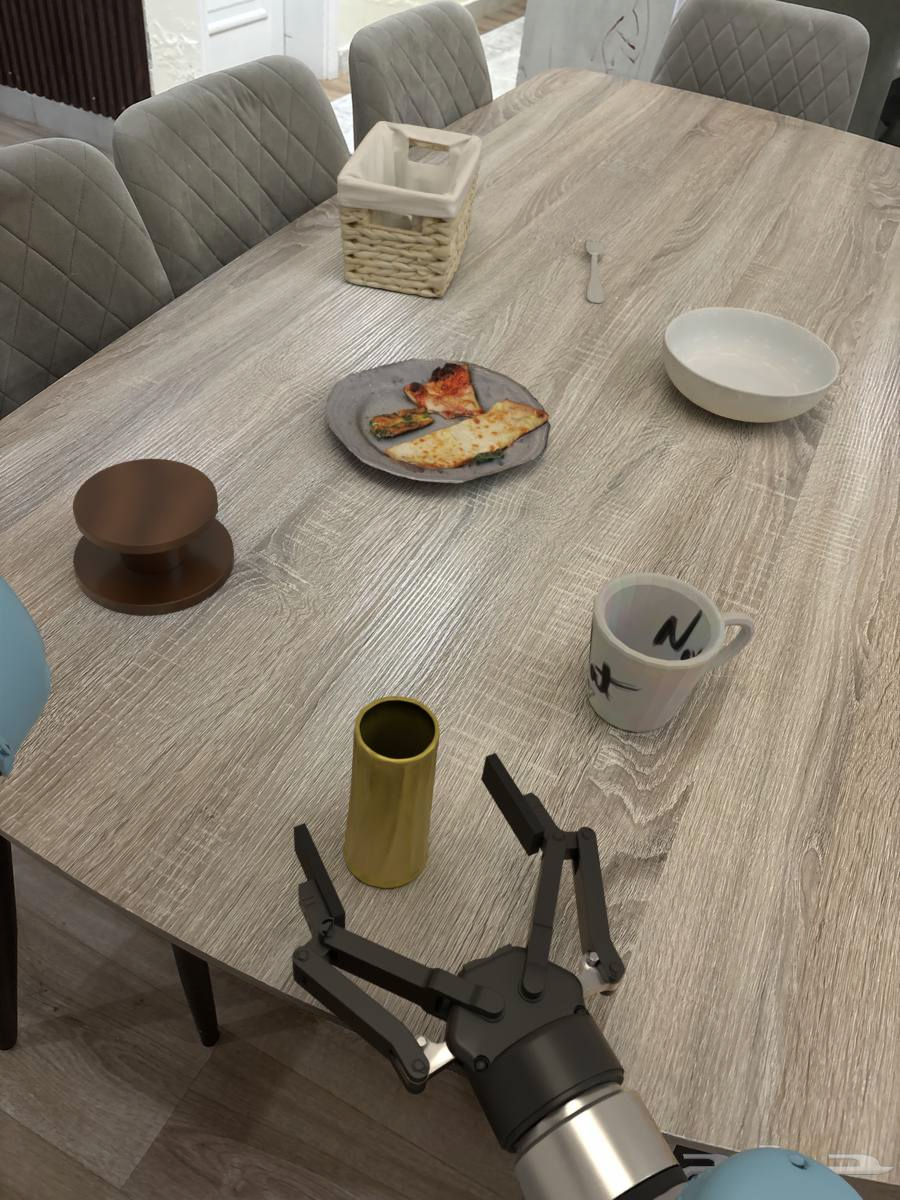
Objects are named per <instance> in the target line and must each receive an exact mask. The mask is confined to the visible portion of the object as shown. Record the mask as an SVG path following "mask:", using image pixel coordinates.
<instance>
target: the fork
mask: <svg viewBox="0 0 900 1200" xmlns="http://www.w3.org/2000/svg"><path fill="white" fill-rule="evenodd" d="M590 240H591V241H590ZM598 241H599V242H598ZM585 250H586V252H588V253H589V252H590V253H598V254H600V255H602V254H604V252H605V243H604V242H603V241H601V240H595V242H594V239H588V240H587V239H586V242H585ZM590 253H589V254H590ZM601 253H602V254H601ZM586 299H587V301H589V302H590V303H592V304H598V305H599V304H601V303H603V302H604V300H605V291H604V289H603V285H602V283H601V278H600V275H599V268H598V259H597V260H596V259H592V258H591V257H590V277H589V281H588V284H587V290H586Z"/></svg>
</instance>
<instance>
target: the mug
mask: <svg viewBox="0 0 900 1200" xmlns="http://www.w3.org/2000/svg"><path fill="white" fill-rule="evenodd" d="M732 626H739V627H740V630H739V632H738V633H737V635H736V636H735V637H734V638H733V639H732V640H731V641H730V642H729V643H728V644H727V645H725V646H724V647H723V645H724V644H725V641H726V628H727V627H732ZM590 627H591V629H590V639H589V641H590V642H589V654H588V666H587V667H588V668H587V679H586V680H587V681H586V694H587V698H588V701H589V704H590V706H592V708H593V710H594V711H595V713H596V714H597V716H599V717H600V718H601V719H603V720H604V721H605V722H607V724H610V725H611V726H614V727H616V728H618V729H620V730H623V731H628V732H633V733H645V732H646V733H647V732H652V731H654V730H657V729H661V728H662V727H663V726H665V725H666V724H667V723H668V722H670V721H671V720H672V719H673V717H674V716H675V715H676V713H677V711H679V709H680V707H681V706H682V705H683V703H684V702H685V701H686V700H687V698H688V697H689V695H690V694H691V693H692V691H693V689H694V688H695V687H696V685H697V684H698V683H699V681H700V680H701V679H702V678H703V676H704V675H705V674H708V673H710V672H711V671H714V670H715V669H717V668H720V667H721V666H722V665H725V664H726V663H727V662H729V661H731V660H732V659H733V658H735V657H736V656H737V655H739V654H740V653H741V652H742V650H743V649H745V648H746V647H747V646H748V644H749V643H750V642H751V641H752V638H753V637H754V635H755V633H756V631H755V623H754V618H753V617H751V616H750V615H748V614H747V613H745V612H743V611H726V612H720V610H719V608H718V606H717V605H715V603H714V602H713V601H712V600H711V599H710V598H709V596H707V595H706V593H704V592H703V591H701V590H699V589H698V588H697V587H695V586H693V585H692V584H691V583H688V582H687V581H684V580H682V579H679V578H676V577H674V576H671V575H668V574H662V573H657V572H653V571H642V572H641V571H637V572H635V571H633V572H628V573H625V574H621V575H618V576H615V577H613V578H612V579H610V580H609V581H607V582H606V583H604V584H602V587H601V588H600V589H599V591H598V592H597V594H596V595H595V597H594V598H593V604H592V613H591V626H590Z"/></svg>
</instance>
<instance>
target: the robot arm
mask: <svg viewBox="0 0 900 1200" xmlns="http://www.w3.org/2000/svg"><path fill="white" fill-rule="evenodd" d="M46 658H47V652H46V645H45V641H44V640H43V637H42V635H41V633H40V629H39V628H38V626H37V625H36V622H35V620H34V618H33V617H32V615H31V614H30V612H29V610H28V609H27V607H26V605H24V603H23V602H22V600H21V599H20V597H19V596H18V595H17V594H16V592H15V591H14V589H13V588H12V587H11V586H10V584H9V583H8V582H7V581H6V580H5V578H4V577H3V576H2V575H1V574H0V777H4V778H8V777H9V775H10V774H11V773H12V772H13V770H14V763H15V761H16V760H15V759H16V758H15V757H16V755H17V754H18V752H19V751H20V748H22V745H24V742H25V741H26V739H27V737H28V736H29V734H30V732H31V731H32V729H33V728H34V726H35V724H36V723H37V721H38V720H39V718H40V717H41V715H42V713H43V711H44V710H45V707H46V705H47V703H48V700H49V696H50V691H51V687H52V686H51V684H52V679H51V668H50V665H49V663H48V662H47V660H46ZM480 780H481V782H482V783H483V785H484V787H485V789H486V790H487V792H488V793H489V795H490V797H491V798H492V800H493V802H494V803H495V805H496V806H497V808H498V809H499V811H500V813H501V815H502V816H503V817H504V819H505V821H506V823H507V824H508V825H509V828H510V829H511V830H512V832H513V834H514V835H515V837H516V839H517V840H518V842H519V843H520V845H521V847H522V849H523V850H524V852H525V853H526V855H527V857H531V856H533V855H535V854H538V853H539V852H540V851H541V853H542V854H541V857H540V863H539V864H540V865H539V869H538V875H537V881H536V886H535V891H534V896H533V897H534V898H533V902H532V908H531V914H530V918H529V923H528V929H527V936H526V941H525V945H524V947H523V946H517V945H512V944H511V943H510V942H509V943H507V944H505V945H503V946H501V947H498V949H496V950H495V951H494V952H493V953H492V954H491V955H489V956H487V957H481V958H475V959H473V960H470V961H469V962H466V963H464V964H462V968H461V969H460V970H459V972H458V973H457V974H454V973H451V972H450V971H447V970H446V969H443V968H441V967H433V968H432V967H430V966H427V965H425V964H423V963H420V962H418V961H416V960H414V959H412V958H410V957H407V956H405V955H403V954H401V953H398V952H396V951H394V950H392V949H390V948H388V947H385V946H383V945H381V944H378V943H376V942H375V941H372V940H369V939H367V938H366V937H363V936H361V935H359V934H357V933H355V932H352V931H350V930H348V929H346V915H347V914H346V910H345V908H344V906H343V904H342V901H341V899H340V897H339V895H338V893H337V889H336V888H335V886H334V884H333V881H332V880H331V877H330V875H329V873H328V870H327V868H326V866H325V863H324V862H323V859H322V857H321V855H320V853H319V850H318V848H317V845H316V844H315V841H314V839H313V837H312V834H311V833H310V831H309V829H308V826H307V824H306V823H305V822H304V823H301V824H298V825H295V826H293V847H294V848H293V849H294V850H293V851H294V852H295V855H296V857H297V859H298V862H299V865H300V867H301V869H302V871H303V873H304V875H305V878H306V881H304V882H301V883H298V887H297V888H298V890H297V893H298V895H297V896H298V898H297V899H298V906H299V909H300V911H301V913H302V915H303V918H304V920H305V923H306V925H307V928H308V930H309V933H310V934H311V938H310V939H309V941H307V943H306V944H304V945H299V946H298V947H297V948H295V949H294V951H293V952H292V955H291V959H292V960H291V963H292V977H293V980H294V982H295V983H296V984H297V985H299V987H301V988H302V989H303V990H304V991H306V992H307V993H308V994H309V995H310V996H311V997H312V998H314V999H315V1000H316V1001H317V1002H318V1003H320V1004H321V1005H322V1006H323V1007H324V1008H326V1010H328V1011H329V1012H330V1013H332V1014H333V1015H334V1016H335V1017H336V1018H338V1019H339V1020H340V1021H341V1022H342V1023H344V1025H346V1026H347V1027H349V1028H350V1029H351V1030H352V1031H353V1032H354V1033H356V1034H357V1035H358V1036H359V1037H361V1039H363V1040H364V1042H366V1043H367V1044H368V1045H370V1046H371V1048H373V1049H374V1050H376V1051H377V1052H378V1053H379V1054H381V1055H382V1056H383V1057H384V1058H385V1059H387V1061H389V1062H390V1064H391V1066H392V1067H393V1070H394V1071H395V1073H396V1074H397V1076H398V1078H399V1080H400V1082H401V1083H402V1085H403V1087H404V1088H405V1090H406V1091H407V1092H408V1094H411V1095H420V1094H421V1093H423V1092H424V1091H425V1090H426V1087H427V1083H428V1081H431V1079H433V1078H434V1077H435V1076H437V1075H439V1074H440V1073H442V1072H443V1071H445V1070H446V1069H447V1068H449V1067H450V1066H452V1065H454V1066H455V1067H456V1068H458V1069H459V1070H460V1071H461V1072H462V1073H463V1074H464V1075H465V1077H466V1079H467V1080H468V1082H469V1084H470V1086H471V1089H472V1091H473V1093H474V1095H475V1097H476V1099H477V1101H478V1103H479V1105H480V1107H481V1109H482V1111H483V1113H484V1115H485V1118H486V1119H487V1122H488V1125H489V1126H490V1128H491V1130H492V1132H493V1134H494V1136H495V1139H496V1140H497V1142H498V1145H499V1146H500V1149H501V1150H502V1151H506V1152H507V1153H509V1154H517V1155H518V1156H517V1157H516V1159H515V1161H514V1164H513V1168H512V1172H513V1175H514V1177H515V1179H516V1181H517V1183H518V1185H519V1188H520V1189H521V1192H522V1194H523V1196H524V1198H525V1200H864V1198H862V1196H861V1195H860V1194H859V1193H858V1192H857V1191H856V1189H855V1188H854V1187H853V1186H851V1185H850V1183H848V1182H847V1180H845V1179H844V1178H843V1177H842V1176H841V1175H840V1174H838V1173H837V1172H835V1171H834V1170H833V1169H831V1168H830V1167H828V1166H827V1165H825V1164H823V1163H822V1162H821V1161H819V1160H817V1159H815V1158H812V1157H811V1156H808V1155H806V1154H803V1153H801V1152H799V1151H797V1150H794V1149H786V1148H781V1147H773V1146H772V1147H771V1146H765V1147H764V1146H762V1147H754V1148H752V1147H751V1148H748V1149H744V1150H740V1151H739V1152H736V1153H734V1154H731V1155H730V1156H728V1157H727V1158H725V1159H724V1160H723V1161H721V1162H719V1163H718V1164H716V1165H714V1166H711V1167H708V1168H705V1170H704V1171H702V1173H697V1174H696V1175H694V1176H692V1177H691V1179H690V1180H689V1177H688V1176H687V1174H686V1172H685V1171H684V1169H683V1167H682V1166H681V1165H680V1163H679V1161H678V1159H677V1157H676V1156H675V1154H674V1153H673V1150H672V1149H671V1147H670V1146H669V1144H668V1142H667V1140H666V1139H665V1137H664V1135H663V1133H662V1132H661V1130H660V1128H659V1126H658V1124H657V1123H656V1121H655V1120H654V1118H653V1116H652V1114H651V1112H650V1111H649V1109H648V1107H647V1105H646V1103H645V1102H644V1100H643V1098H642V1096H641V1095H640V1093H639V1091H638V1090H635V1089H633V1088H630V1087H625V1088H623V1087H622V1085H623V1084H624V1081H625V1076H624V1074H625V1069H624V1067H623V1065H622V1064H621V1062H620V1060H619V1058H618V1057H617V1055H616V1053H615V1051H614V1049H613V1048H612V1046H611V1045H610V1043H609V1041H608V1040H607V1038H606V1036H605V1034H604V1033H603V1031H602V1030H601V1028H600V1026H599V1024H598V1023H597V1021H596V1020H595V1018H594V1016H592V1014H591V1013H590V1012H589V1010H588V1008H587V1006H586V1003H585V998H588V997H591V996H594V995H597V994H600V995H602V996H603V997H611V996H612V995H614V994H615V993H616V990H617V989H618V987H619V985H620V983H621V981H622V979H623V976H625V973H626V967H625V965H624V963H623V961H622V958H621V956H620V955H619V952H618V950H617V948H616V947H615V944H614V942H613V941H612V938H611V933H610V925H609V918H608V912H607V911H608V910H607V904H606V897H605V895H606V894H605V889H604V881H603V875H602V867H601V861H600V852H599V846H598V839H597V833H596V831H595V830H594V829H593V828H591V827H590V826H581V827H580V828H578V830H575V831H567V830H563V829H561V828H560V827H558V825H557V824H556V822H555V821H554V819H553V817H552V816H551V815H550V813H549V812H548V810H547V809H546V807H545V805H544V804H543V803H542V801H541V800H540V798H539V796H538V795H536V794H535V793H533V792H528V793H526V794H523V793H522V792H521V790H520V788H519V787H518V785H517V784H516V782H515V780H514V779H513V777H512V776H511V774H510V772H509V771H508V770H507V768H506V767H505V765H504V764H503V762H502V760H501V759H500V757H499V756H498V754H497V753H496V752H494V753H490V754H488V755H486V756H485V759H484V765H483V769H482V774H481V778H480ZM565 861H570V862H571V870H572V878H573V889H574V896H575V906H576V915H577V923H578V931H579V940H580V949H581V955H582V957H581V959H580V961H579V964H578V973H579V974H578V975H576V974H574V973H573V972H572V971H570V970H568V969H566V968H564V967H563V966H561V965H558V964H557V963H555V962H553V961H551V960H549V958H550V952H551V946H552V941H553V940H552V939H553V933H554V922H555V916H556V909H557V904H558V899H559V898H558V897H559V890H560V884H561V878H562V872H563V866H564V862H565ZM338 969H339V970H338ZM340 970H341V971H343V972H346V973H348V974H350V975H352V976H355V977H357V978H359V979H361V980H363V981H365V982H367V983H370V984H372V985H374V986H376V987H378V988H380V989H381V990H382V989H383V990H384V991H387V992H389V993H391V994H393V995H395V996H398V997H400V998H402V999H404V1000H407V1002H410V1003H413V1004H415V1005H417V1006H419V1007H420V1008H421V1010H422V1011H423V1012H425V1013H426V1014H428V1015H430V1016H432V1017H434V1018H436V1019H438V1020H441V1021H443V1022H445V1023H446V1024H445V1030H444V1037H443V1042H439V1043H436V1042H434V1041H432V1040H431V1039H430V1038H428V1037H427V1036H426V1035H423V1034H416V1035H414V1034H413V1033H412V1032H411V1030H410V1029H409V1028H408V1027H407V1026H406V1025H405V1023H403V1022H402V1021H401V1020H400V1019H398V1018H397V1017H396V1015H393V1014H392V1013H391V1012H390V1011H388V1009H386V1008H385V1007H384V1006H383V1005H381V1004H380V1003H379V1002H378V1001H376V1000H375V999H374V998H373V997H372V996H370V995H369V994H368V993H366V991H365V990H363V989H362V988H361V987H359V986H358V985H357V984H355V983H354V982H353V981H352V980H351V979H350V978H348V977H347V976H346V975H345V974H344V973H342V972H341V971H340Z"/></svg>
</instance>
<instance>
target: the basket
mask: <svg viewBox="0 0 900 1200" xmlns="http://www.w3.org/2000/svg"><path fill="white" fill-rule="evenodd" d="M410 147H413V148H416V147H417V148H420V149H428V150H430V151H431V150H434V151H435V152H438V151H439V152H446V153H448V164H447V165H436V164H430V163H424V162H419V161H413V160H410V158H409V153H410ZM483 152H484V142H483V140H482V139H481V138H480V136H478V135H471V134H466V133H463V132H456V131H450V130H445V129H438V128H433V127H432V128H431V127H426V126H420V125H415V124H409V123H397V122H391V121H385V120H384V121H383V120H379V121H378V122H376V123H375V124H374V126H372V128H371V129H370V130H369V131H368V132H367V134H366V135H365V136H364V138H363V139H362V140H361V141H360V143H359V144H358V145H357V147H356V149H355V150H354V152H353V153H352V155H351V156H350V157H349V159H348V160H347V161H346V162H345V164H344V166H343V167H342V168H341V170H340V172H339V174H338V175H337V179H336V181H337V186H336V190H337V193H336V204H337V209H338V213H339V216H338V217H339V222H340V225H339V227H340V238H341V245H340V246H341V254H342V259H343V262H344V264H343V269H344V270H343V272H344V273H343V274H344V279H345V280H346V281H347V282H348V283H350V284H354V285H360V286H366V287H370V288H375V289H383V290H387V291H392V292H397V293H398V292H399V293H400V292H401V293H404V294H410V295H419V296H420V297H426V298H442V297H444V296H445V294H446V291H447V290H448V288H449V286H450V283H451V282H452V280H453V278H454V273H455V274H456V272H457V271H458V269H459V268H458V266H459V265H460V263H461V259H462V256H463V255H464V250H465V248H466V245H467V241H468V239H469V235H470V234H469V232H470V228H471V227H470V226H471V222H472V219H471V218H472V213H473V212H474V211H473V209H474V205H473V204H475V202H474V200H475V197H476V189H475V188H476V185H477V181H478V178H479V172H480V168H481V162H482V160H483Z"/></svg>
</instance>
